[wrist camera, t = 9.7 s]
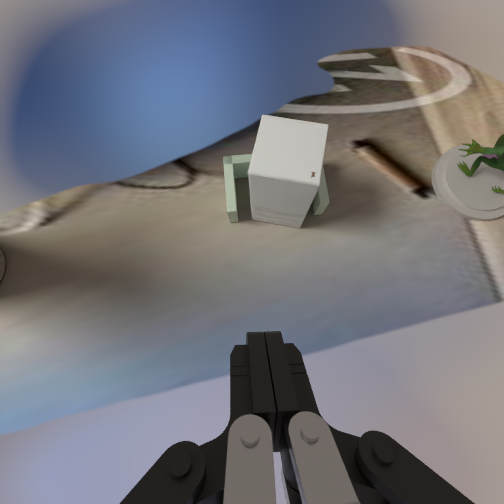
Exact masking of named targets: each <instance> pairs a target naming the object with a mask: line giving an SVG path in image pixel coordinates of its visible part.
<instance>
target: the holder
mask: <svg viewBox="0 0 504 504" xmlns="http://www.w3.org/2000/svg"><path fill="white" fill-rule="evenodd" d="M251 157H252V154H247V155H236V156H225V157H223V162H224V175H225V188H226V201H227V213H228V216H229V220H230V223H233V222H238V210H237V199H236V187H235V179H236V178H247V177H248V169H249V165H250V161H251ZM329 203H330V201H329V196H328V190H327V185H326V179H325V174H324V168H322V176H321V183H320V187H319V189H318V191H317V193H316V195H315V197H314V200H313V202H312V206H313V212H314V215H319V214H323V212H324V211H325V209H326V207H327V206H328V204H329Z"/></svg>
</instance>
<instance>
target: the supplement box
mask: <svg viewBox="0 0 504 504" xmlns="http://www.w3.org/2000/svg"><path fill="white" fill-rule="evenodd" d="M327 131H328V125H327V124H321V123H314V122H307V121H301V120H294V119H288V118H281V117H275V116H268V115H262V118H261V122H260V126H259V130H258V134H257V138H256V142H255V146H254V150H253V154H252V157H251V161H250V165H249V169H248V177H249V187H250V202H251V213H252V219H253V220H258V221H263V222H269V223H274V224H280V225H285V226H291V227H297V228H300V227H301V225H302V223H303V221H304V219H305V216H306V214H307V212H308V210H309V208H310V206H311V204H312V202H313V200H314V197H315V195H316V193H317V191H318V189H319V187H320V183H321V176H322V168H323V160H324V153H325V145H326V137H327Z"/></svg>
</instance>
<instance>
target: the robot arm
mask: <svg viewBox="0 0 504 504" xmlns="http://www.w3.org/2000/svg"><path fill="white" fill-rule="evenodd" d="M4 271H5V257H4V254H3V252H2V250H1V249H0V281H1V280H2V277H3V275H4ZM230 382H231V383H230V384H231V385H230V391H231V392H230V396H231V398H230V403H231V404H230V408H231V409H230V411H231V412H230V413H231V414H230V420H229V423H228V426H227V427H226V429H225V430H224V432H223V433H222V434H221V435H220V436H218V437H217V438H216V439H214V440H212V441H209V442H207V443H205V444H203V445H201V446H198V445H197V444H195V443H193V442H190V441H182V442H178V443H176V444H174V445H172V446H171V447H169V448H168V449H167V450H166V451H165V452H164V454H162V456H161V457H160V458H159V459H158V460H157V461H156V463H155V464H154V465H153V466H152V467H151V468H150V469H149V471H148V472H147V473H146V474H145V475H144V476H143V477H142V479H141V480H140V481H139V482H138V483H137V484H136V486H135V487H134V488H133V489H132V490H131V491H130V492H129V494H128V495H127V496H126V497H125V498H124V499H123V500H122V502H121V503H120V504H276V492H275V476H274V462H273V452H280V453H281V460H282V472H281V473H282V474H281V475H282V483H283V487H284V492H285V497H286V502H287V504H474V503H473V502H472V501H471V500H469V499H468V498H467V497H465V496H464V495H463V494H462V493H461V492H459V491H458V490H456V489H455V488H454V487H453V486H452V485H450V484H449V483H448V482H447V481H445V480H444V479H443V478H442V477H440V476H439V475H438V474H436V473H435V472H434V471H433V470H432V469H430V468H429V467H428V466H426V465H425V464H424V463H423V462H421V461H420V460H419V459H417V458H416V457H415V456H414V455H413V454H411V453H410V452H409V451H408V450H406V449H405V448H404V447H402V446H401V445H400V444H398V443H397V442H396V441H395V440H394V439H392V438H391V437H390V436H388V435H386V434H384V433H382V432H378V431H368V432H366V433H364V434H363V435H362V436H361V437H357V436H354V435H351V434H347V433H344V432H341V431H338V430H336V429H334V428H333V427H331V426H330V425H328V424H327V422H326V421H325V420H324V419H323V418H322V416H321V415H320V413H319V410H318V408H317V405H316V401H315V398H314V395H313V391H312V389H311V385H310V382H309V378H308V375H307V373H306V369H305V365H304V362H303V359H302V356H301V352H300V351H299V350H298V349H297V348H296V346H295V345H294V344H293V343H286V344H284V342H283V338H282V334H281V332H280V331H273V332H264V333H263V332H247V335H246V345H235V347H234V349H233V351H232V353H231V355H230Z"/></svg>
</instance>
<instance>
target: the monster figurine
mask: <svg viewBox="0 0 504 504" xmlns="http://www.w3.org/2000/svg"><path fill="white" fill-rule="evenodd" d="M472 142H473V143H472V145H471V144H462V145H460V146H457V147H454V148H452V149H450V150H448V151H447V152H445V153H444V154H443V155H442V156H441V157H440V158H439V159H438V160H437V162H436V163H435V165H434V167H433V171H432V185H433V188H434V191H435V193H436V195H437V197H438V198H439V199H440V201H441V202H442V203H443V204H444V205H445V206H446V207H447V208H448V209H449V210H450V211H452V212H453V213H455V214H457V215H459V216H461V217H463V218H466V219H469V220H475V221H487V220H492V219H496V218H498V217H501V216H503V215H504V135H502V136H501V137H499V139H498V140H497V142H496V144H495V147H494V148H489V147H483V146H480V145H479V144H478V143H477V142H475V141H474V140H473V139H472Z"/></svg>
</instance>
